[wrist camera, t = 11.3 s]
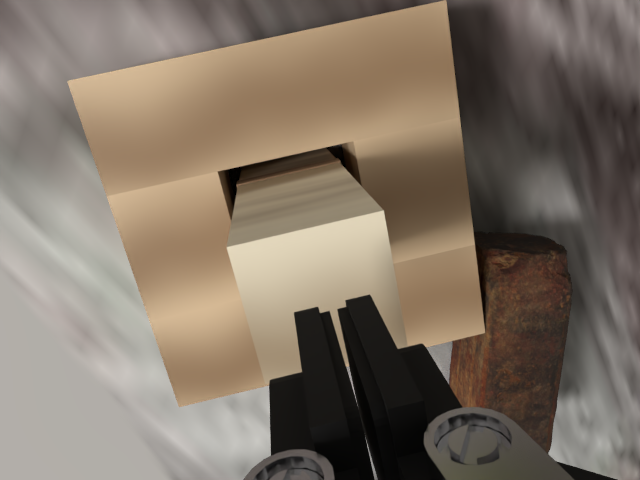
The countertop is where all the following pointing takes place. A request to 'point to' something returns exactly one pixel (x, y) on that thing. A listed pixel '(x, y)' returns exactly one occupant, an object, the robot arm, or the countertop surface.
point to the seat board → (274, 142)
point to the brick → (517, 332)
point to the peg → (307, 252)
